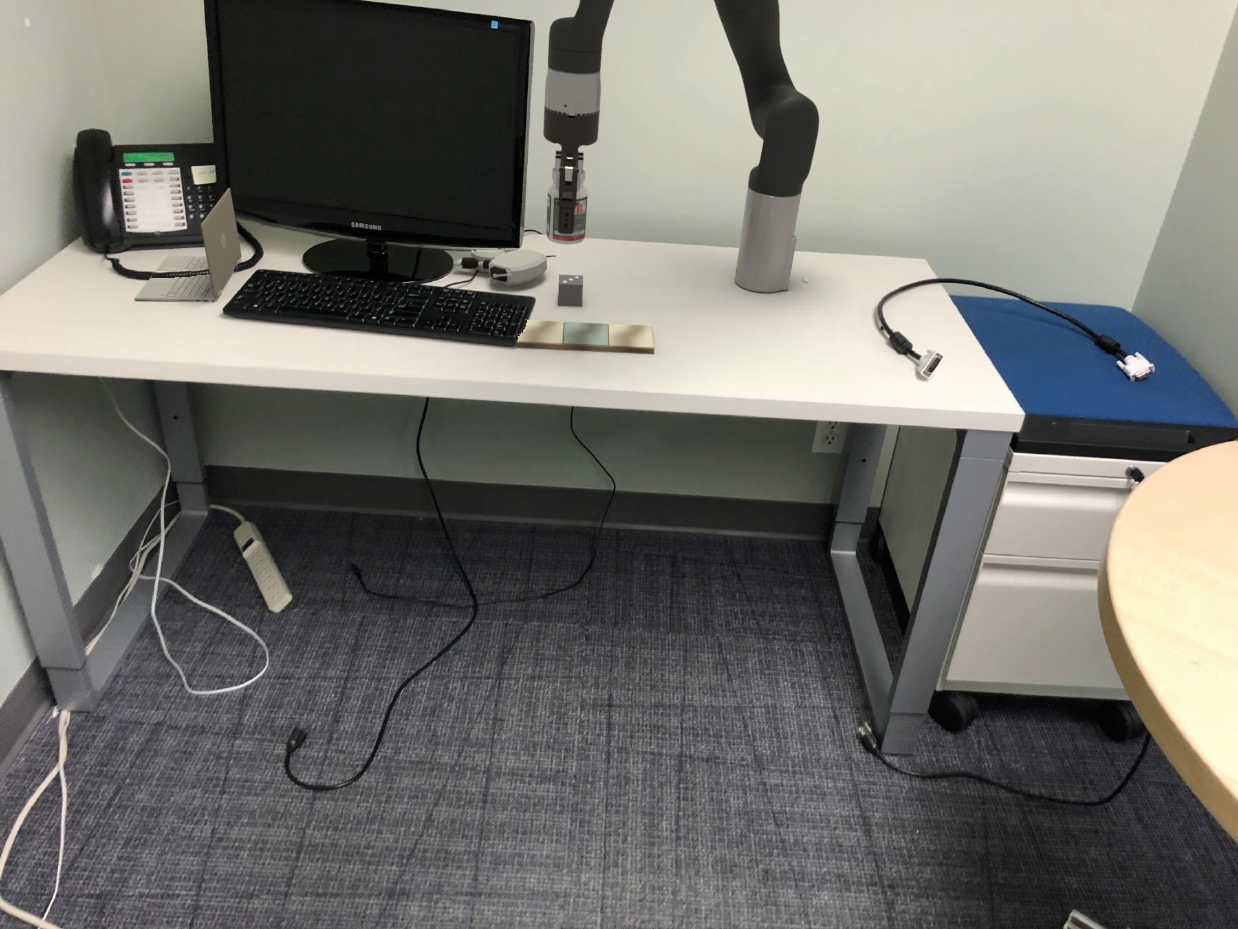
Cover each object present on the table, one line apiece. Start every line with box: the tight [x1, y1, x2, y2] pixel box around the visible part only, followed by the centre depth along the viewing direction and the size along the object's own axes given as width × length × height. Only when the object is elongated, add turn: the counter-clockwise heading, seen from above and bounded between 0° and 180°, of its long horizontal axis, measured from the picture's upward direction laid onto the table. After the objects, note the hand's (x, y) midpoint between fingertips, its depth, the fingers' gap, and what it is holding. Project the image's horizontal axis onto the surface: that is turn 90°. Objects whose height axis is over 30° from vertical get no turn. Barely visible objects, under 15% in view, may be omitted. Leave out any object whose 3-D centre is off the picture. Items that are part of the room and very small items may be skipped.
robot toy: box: [453, 248, 557, 287], centre depth 164 cm, size 12×4×15 cm
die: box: [557, 274, 584, 308], centre depth 157 cm, size 4×4×4 cm
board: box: [516, 319, 655, 355], centre depth 146 cm, size 21×8×1 cm, turn 92°
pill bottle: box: [545, 167, 589, 245], centre depth 134 cm, size 6×6×10 cm
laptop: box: [134, 187, 243, 303], centre depth 152 cm, size 18×12×13 cm
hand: (565, 224), depth 136 cm, fingers closed on pill bottle, 5 cm apart
